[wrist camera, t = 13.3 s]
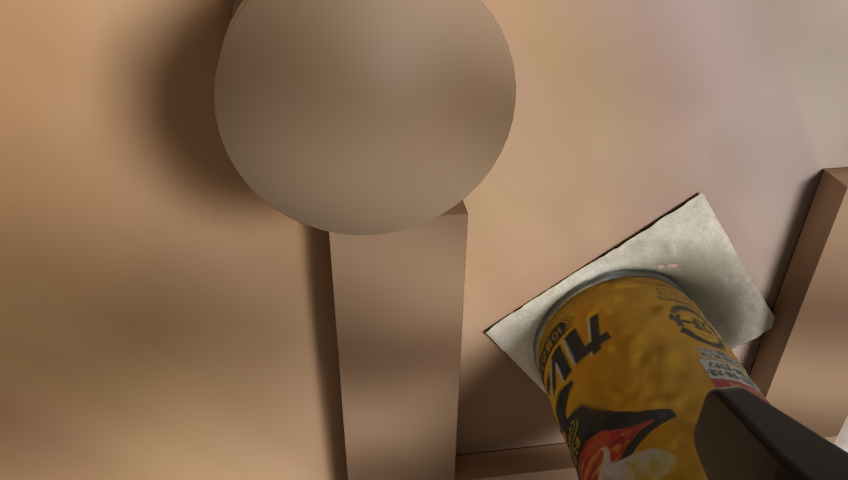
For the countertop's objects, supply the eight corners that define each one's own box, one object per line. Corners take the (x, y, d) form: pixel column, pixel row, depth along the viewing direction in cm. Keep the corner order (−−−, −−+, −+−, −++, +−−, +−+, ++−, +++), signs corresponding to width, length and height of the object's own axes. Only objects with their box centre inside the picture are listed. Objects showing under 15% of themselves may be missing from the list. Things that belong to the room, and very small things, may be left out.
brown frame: (791, 475, 32) (807, 497, 31) (351, 530, 30) (354, 556, 29) (935, 161, 24) (963, 179, 23) (327, 202, 21) (328, 223, 20)
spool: (462, 132, 20) (504, 225, 16) (249, 144, 20) (236, 244, 15) (472, -97, 17) (529, -54, 13) (216, -94, 16) (189, -46, 12)
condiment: (484, 328, 25) (608, 701, 15) (699, 189, 23) (1006, 512, 13) (581, 430, 29) (732, 780, 19) (773, 318, 27) (1054, 643, 17)
